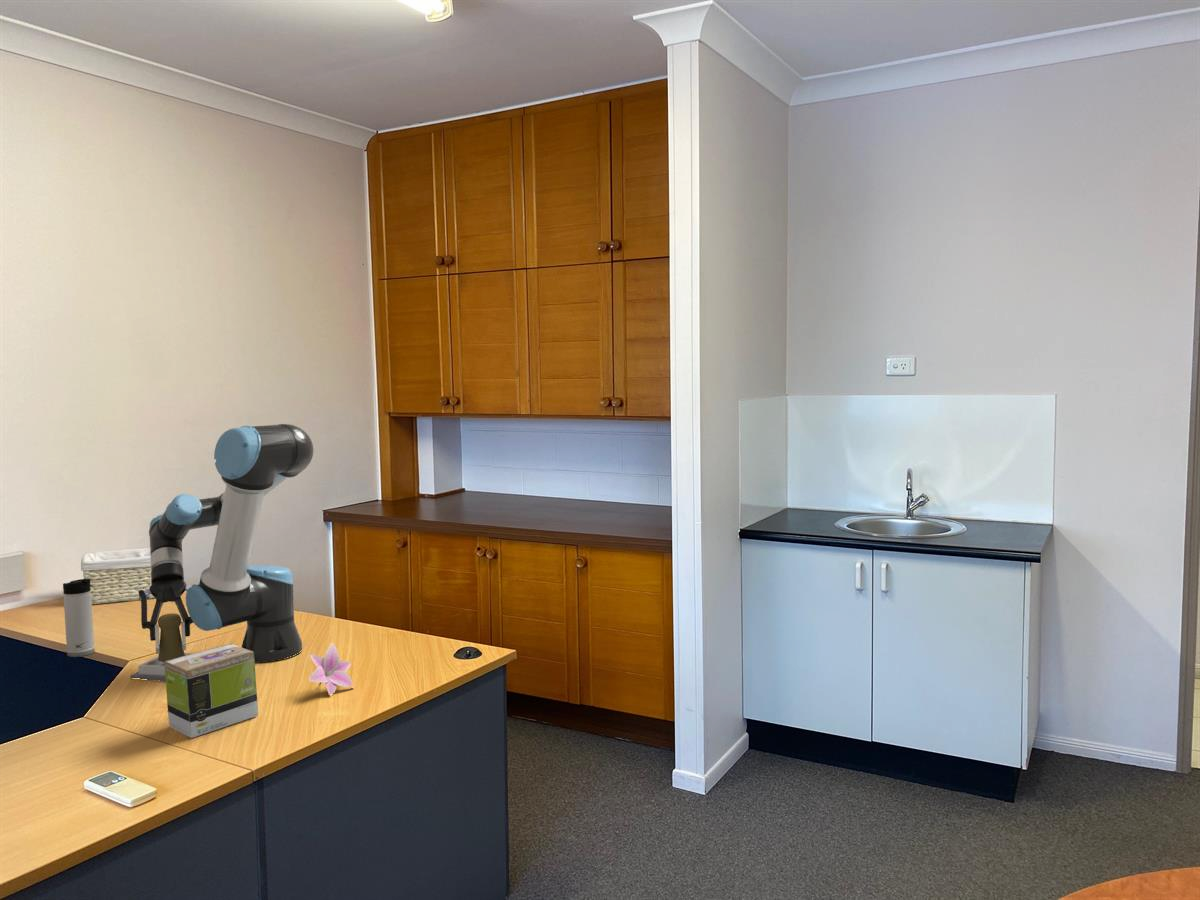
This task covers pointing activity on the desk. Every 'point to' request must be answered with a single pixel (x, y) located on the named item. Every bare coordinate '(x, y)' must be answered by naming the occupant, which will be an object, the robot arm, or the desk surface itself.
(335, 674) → the lily
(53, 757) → the desk surface
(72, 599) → the travel mug
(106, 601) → the storage basket
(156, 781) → the desk surface
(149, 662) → the grey square tray
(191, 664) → the tea box
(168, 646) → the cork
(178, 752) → the desk surface
